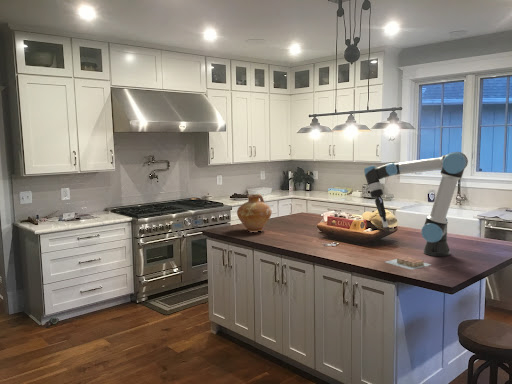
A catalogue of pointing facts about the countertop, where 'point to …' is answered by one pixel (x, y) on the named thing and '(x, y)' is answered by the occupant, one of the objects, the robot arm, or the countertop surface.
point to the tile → (410, 261)
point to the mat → (405, 265)
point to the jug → (254, 213)
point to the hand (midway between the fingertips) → (386, 226)
